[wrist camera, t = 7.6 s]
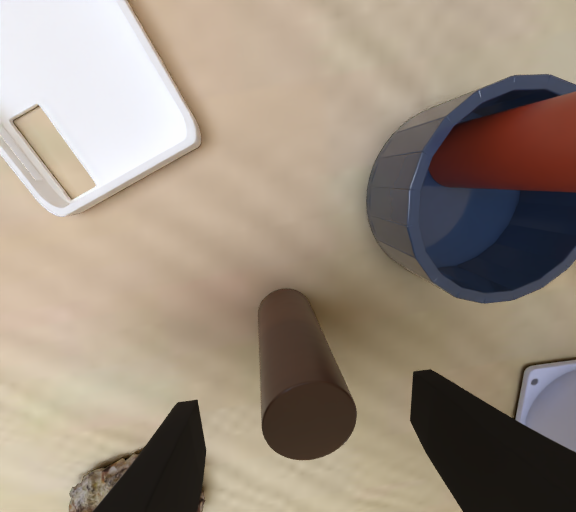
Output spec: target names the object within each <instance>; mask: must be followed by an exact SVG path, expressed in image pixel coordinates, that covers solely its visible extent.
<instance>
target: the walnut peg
mask: <svg viewBox="0 0 576 512" xmlns="http://www.w3.org/2000/svg"><path fill="white" fill-rule="evenodd" d="M258 329H259V359H260V389H261V419H262V432H263V435H264V438H265V440H266V442H267V443H268V445H269V446H270V447H271V448H272V449H273V450H274V451H275V452H277V453H278V454H280V455H282V456H284V457H287V458H290V459H294V460H312V459H317V458H320V457H323V456H326V455H328V454H330V453H332V452H334V451H335V450H337V449H338V448H340V447H341V446H342V445H343V444H344V443H345V442H346V441H347V440H348V438H349V437H350V435H351V434H352V432H353V430H354V427H355V424H356V418H357V411H356V406H355V403H354V401H353V398H352V396H351V394H350V392H349V389H348V387H347V385H346V383H345V381H344V378H343V376H342V374H341V372H340V369H339V367H338V365H337V363H336V361H335V358H334V356H333V354H332V352H331V350H330V347H329V345H328V343H327V341H326V339H325V336H324V334H323V332H322V330H321V327H320V325H319V323H318V321H317V319H316V316H315V314H314V312H313V310H312V308H311V305H310V303H309V301H308V300H307V298H306V297H305V296H304V295H303V294H301V293H300V292H298V291H296V290H292V289H280V290H276V291H274V292H272V293H270V294H269V295H268V296H266V297H265V298H264V300H263V301H262V302H261V304H260V307H259V310H258Z"/></svg>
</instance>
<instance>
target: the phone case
mask: <svg viewBox="0 0 576 512" xmlns="http://www.w3.org/2000/svg"><path fill="white" fill-rule="evenodd" d="M38 105H39V106H40V107H41V108H42V110H43V111H44V112H45V114H46V115H47V117H48V118H49V119H50V121H51V122H52V124H53V125H54V126H55V128H56V129H57V130H58V132H59V133H60V135H61V136H62V137H63V139H64V140H65V142H66V143H67V144H68V146H69V147H70V148H71V150H72V151H73V153H74V154H75V155H76V157H77V158H78V160H79V161H80V162H81V164H82V165H83V166H84V168H85V169H86V171H87V172H88V173H89V175H90V176H91V178H92V179H93V181H94V182H95V184H96V187H94V188H92V189H91V190H89V191H87V192H85V193H83V194H82V195H80V196H78V197H76V198H75V199H73V200H72V199H71V198H70V197H69V196H68V194H67V193H66V192H65V190H64V189H63V188H62V187H61V185H60V184H59V183H58V181H57V180H56V179H55V177H54V176H53V175H52V173H51V172H50V171H49V169H48V168H47V167H46V166H45V164H44V163H43V162H42V160H41V159H40V158H39V156H38V155H37V154H36V152H35V151H34V150H33V148H32V147H31V146H30V145H29V143H28V142H27V141H26V139H25V138H24V137H23V135H22V134H21V133H20V131H19V130H18V129H17V127H16V126H15V125H14V123H13V120H14V119H16V118H18V117H19V116H21V115H23V114H25V113H26V112H28V111H30V110H31V109H33V108H35V107H37V106H38ZM0 135H1V136H0V155H1V156H2V158H3V159H4V160H5V161H6V163H7V164H8V165H9V166H10V168H11V169H12V170H13V171H14V173H15V174H16V175H17V176H18V178H19V179H20V180H21V181H22V183H23V184H24V185H25V186H26V188H27V189H28V190H29V191H30V193H31V194H32V195H33V196H34V198H35V199H36V200H37V201H38V202H39V203H40V204H41V205H42V206H43V207H44V208H45V209H46V210H48V211H49V212H50V213H52V214H54V215H56V216H59V217H65V216H70V215H75V214H80V213H82V212H84V211H85V210H87V209H89V208H91V207H93V206H94V205H96V204H98V203H100V202H101V201H103V200H105V199H107V198H109V197H110V196H112V195H114V194H116V193H117V192H119V191H121V190H123V189H125V188H126V187H128V186H130V185H132V184H133V183H135V182H137V181H139V180H141V179H142V178H144V177H146V176H148V175H149V174H151V173H153V172H155V171H157V170H158V169H160V168H162V167H164V166H165V165H167V164H169V163H171V162H173V161H174V160H176V159H178V158H180V157H181V156H183V155H185V154H187V153H189V152H190V151H192V150H194V149H196V148H198V147H199V146H200V144H201V132H200V129H199V126H198V124H197V121H196V119H195V118H194V116H193V114H192V112H191V111H190V109H189V107H188V105H187V104H186V102H185V100H184V98H183V97H182V95H181V93H180V91H179V90H178V88H177V86H176V84H175V83H174V81H173V79H172V77H171V76H170V74H169V72H168V70H167V69H166V67H165V65H164V63H163V62H162V60H161V58H160V56H159V55H158V53H157V51H156V49H155V48H154V46H153V44H152V42H151V41H150V39H149V37H148V36H147V34H146V32H145V30H144V29H143V27H142V25H141V23H140V22H139V20H138V18H137V16H136V15H135V13H134V11H133V9H132V8H131V6H130V4H129V2H128V1H127V0H0ZM3 139H4V140H5V141H4V140H3ZM7 144H8V145H9V146H8V145H7ZM11 149H12V150H11ZM14 153H15V154H16V155H15V154H14ZM18 158H19V159H20V160H19V159H18ZM22 163H23V164H22ZM25 167H26V168H27V169H26V168H25ZM29 172H30V173H29ZM32 176H33V177H34V178H33V177H32Z"/></svg>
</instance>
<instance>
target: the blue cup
mask: <svg viewBox="0 0 576 512" xmlns="http://www.w3.org/2000/svg"><path fill="white" fill-rule="evenodd" d="M572 92H576V85H575V84H573V83H570V82H568V81H565V80H563V79H560V78H558V77H555V76H553V75H549V74H535V75H514V76H510V77H507V78H505V79H502V80H500V81H497V82H495V83H492V84H490V85H487V86H485V87H482V88H480V89H477V90H475V91H472V92H470V93H467V94H465V95H462V96H460V97H457V98H455V99H452V100H450V101H447V102H445V103H442V104H440V105H438V106H435V107H433V108H430V109H428V110H425V111H423V112H421V113H419V114H418V115H416V116H414V117H413V118H411V119H410V120H408V121H407V122H406V123H404V124H403V125H402V126H401V127H400V128H399V129H398V130H397V131H396V132H395V133H394V134H393V135H392V136H391V137H390V139H389V140H388V141H387V142H386V144H385V145H384V147H383V148H382V150H381V152H380V153H379V155H378V157H377V159H376V161H375V164H374V166H373V169H372V172H371V175H370V178H369V183H368V188H367V200H366V201H367V214H368V220H369V224H370V227H371V230H372V233H373V235H374V237H375V239H376V241H377V242H378V244H379V245H380V247H381V248H382V250H383V251H384V252H385V253H386V254H387V255H388V256H389V257H390V258H391V259H393V260H394V261H395V262H397V263H398V264H400V265H402V266H403V267H405V268H406V269H408V270H409V271H411V272H413V273H414V274H416V275H418V276H419V277H421V278H423V279H425V280H426V281H428V282H430V283H431V284H433V285H435V286H436V287H438V288H440V289H442V290H443V291H445V292H447V293H448V294H450V295H452V296H454V297H456V298H459V299H464V300H469V301H473V302H478V303H494V302H503V301H511V300H515V299H517V298H520V297H522V296H524V295H527V294H529V293H532V292H534V291H536V290H539V289H541V288H543V287H544V286H546V285H547V284H548V283H550V282H551V281H552V280H554V279H555V278H556V277H558V276H559V275H560V274H562V273H563V272H564V271H566V270H567V269H568V268H569V267H570V266H571V265H572V264H573V262H574V261H575V260H576V192H552V191H528V190H504V189H480V188H456V187H445V186H442V185H440V184H439V183H437V182H436V181H435V180H434V179H433V177H432V176H431V174H430V172H429V166H430V163H431V160H432V158H433V156H434V154H435V153H436V152H437V150H438V149H439V147H440V146H441V144H442V143H443V141H444V140H445V139H446V137H447V136H448V134H449V133H450V131H451V130H452V129H453V127H454V126H455V125H457V124H458V123H462V122H465V121H469V120H473V119H476V118H480V117H484V116H487V115H491V114H495V113H498V112H502V111H506V110H509V109H513V108H517V107H520V106H524V105H528V104H531V103H535V102H539V101H543V100H546V99H550V98H554V97H557V96H561V95H565V94H568V93H572Z"/></svg>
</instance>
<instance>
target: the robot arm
mask: <svg viewBox="0 0 576 512" xmlns="http://www.w3.org/2000/svg"><path fill="white" fill-rule="evenodd" d="M410 421H411V423H412V425H413V428H414V430H415V432H416V434H417V436H418V438H419V440H420V442H421V444H422V446H423V448H424V450H425V452H426V454H427V455H428V457H429V458H430V460H431V462H432V463H433V465H434V466H435V468H436V470H437V471H438V473H439V474H440V476H441V478H442V479H443V481H444V482H445V484H446V485H447V487H448V489H449V490H450V492H451V493H452V495H453V496H454V498H455V500H456V501H457V503H458V504H459V506H460V507H461V509H462V511H463V512H576V360H569V361H562V362H555V363H548V364H540V365H533V366H529V367H528V368H526V370H525V372H524V376H523V381H522V387H521V392H520V397H519V402H518V408H517V413H516V418H515V419H513V418H511V417H509V416H508V415H506V414H504V413H503V412H501V411H499V410H497V409H496V408H494V407H492V406H491V405H489V404H487V403H486V402H484V401H482V400H481V399H479V398H477V397H476V396H474V395H472V394H471V393H469V392H468V391H466V390H464V389H463V388H461V387H459V386H458V385H456V384H455V383H453V382H451V381H450V380H448V379H446V378H445V377H443V376H441V375H439V374H438V373H436V372H434V371H432V370H431V369H430V370H422V371H414V372H413V385H412V400H411V415H410ZM205 457H206V446H205V441H204V435H203V429H202V423H201V418H200V412H199V406H198V400H192V401H185V402H178V403H177V404H176V405H175V406H174V408H173V409H172V410H171V412H170V413H169V414H168V416H167V417H166V419H165V420H164V421H163V423H162V424H161V426H160V427H159V428H158V430H157V431H156V432H155V434H154V435H153V436H152V438H151V439H150V441H149V442H148V443H147V445H146V446H145V447H144V448H143V450H142V451H141V452H140V454H139V455H138V456H137V458H136V459H135V460H134V461H133V463H132V464H131V465H130V467H129V468H128V469H127V471H126V472H125V473H124V474H123V476H122V477H121V478H120V479H119V480H118V482H117V483H116V484H115V485H114V486H113V488H112V489H111V490H110V491H109V492H108V494H107V495H106V496H105V497H104V498H103V500H102V501H101V502H100V503H99V505H98V506H97V507H96V508H95V509H94V510H93V512H197V510H198V505H199V501H200V496H201V491H202V484H203V476H204V467H205Z"/></svg>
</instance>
